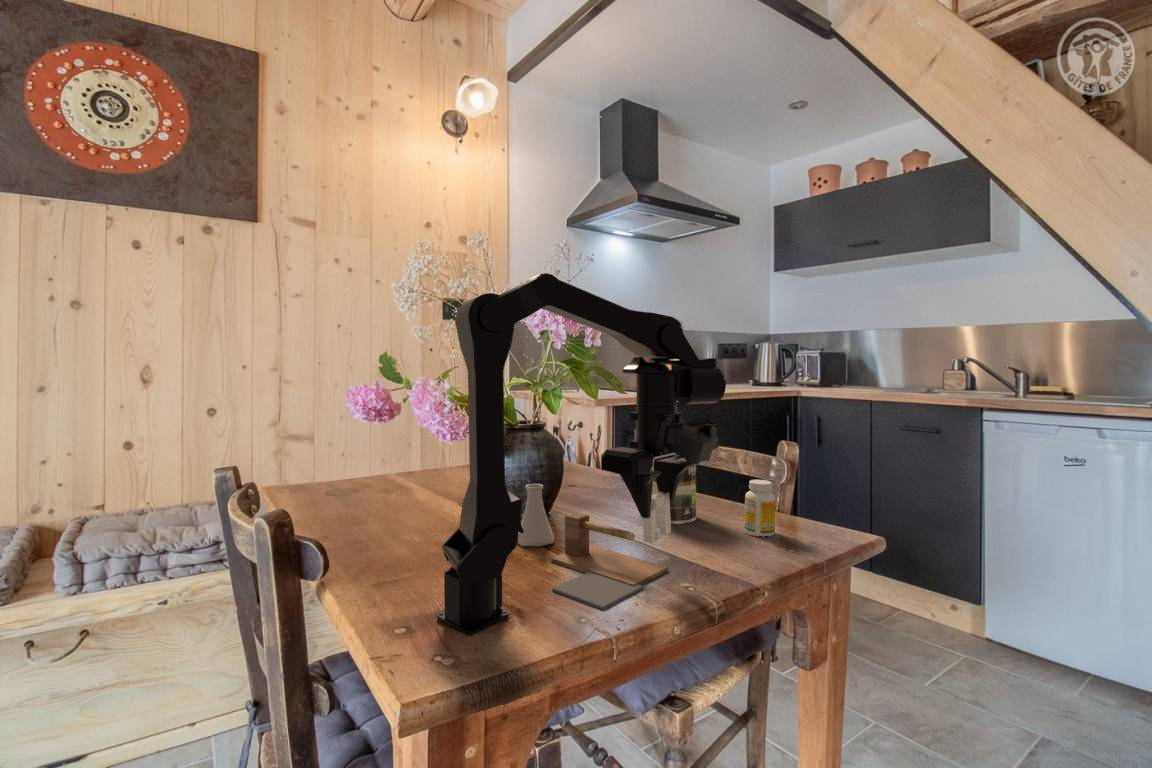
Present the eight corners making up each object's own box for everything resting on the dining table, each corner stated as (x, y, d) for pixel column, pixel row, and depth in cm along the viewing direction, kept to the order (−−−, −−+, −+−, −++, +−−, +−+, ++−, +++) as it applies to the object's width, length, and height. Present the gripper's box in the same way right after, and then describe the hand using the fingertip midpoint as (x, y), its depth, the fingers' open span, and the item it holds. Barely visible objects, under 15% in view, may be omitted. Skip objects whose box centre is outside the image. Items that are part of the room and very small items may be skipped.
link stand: (633, 588, 77) (633, 540, 77) (551, 561, 88) (551, 519, 88) (668, 570, 84) (668, 526, 84) (588, 547, 95) (588, 508, 95)
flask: (517, 549, 94) (517, 491, 94) (511, 537, 101) (510, 482, 101) (559, 546, 96) (559, 488, 96) (549, 533, 103) (549, 480, 103)
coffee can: (698, 512, 117) (698, 446, 116) (694, 526, 107) (694, 454, 107) (649, 509, 120) (649, 444, 119) (641, 522, 110) (641, 451, 109)
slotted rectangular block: (652, 543, 78) (650, 501, 77) (643, 541, 79) (641, 500, 78) (671, 532, 82) (669, 492, 81) (662, 530, 82) (661, 490, 82)
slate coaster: (602, 609, 71) (602, 606, 71) (552, 590, 77) (552, 588, 77) (643, 588, 78) (643, 585, 78) (593, 572, 84) (593, 569, 84)
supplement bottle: (742, 535, 102) (742, 483, 101) (747, 527, 107) (747, 477, 106) (773, 539, 99) (773, 485, 99) (776, 531, 104) (777, 480, 104)
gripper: (669, 413, 67) (669, 541, 67) (738, 404, 81) (737, 510, 81) (598, 408, 74) (598, 523, 75) (672, 401, 88) (672, 498, 89)
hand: (656, 513), depth 80 cm, fingers closed on slotted rectangular block, 5 cm apart
